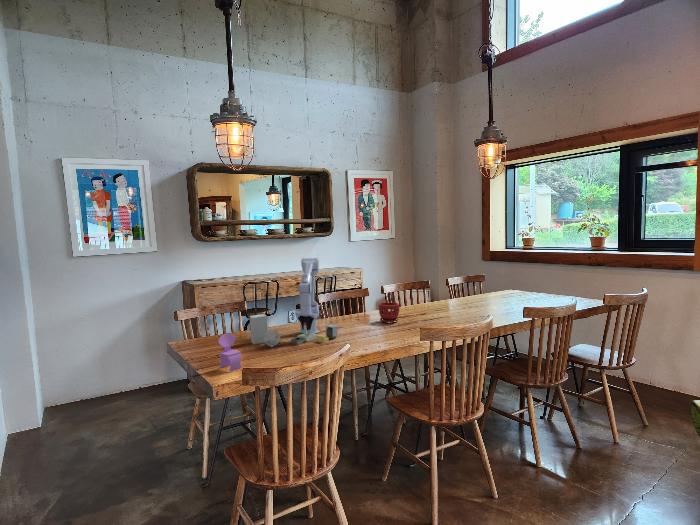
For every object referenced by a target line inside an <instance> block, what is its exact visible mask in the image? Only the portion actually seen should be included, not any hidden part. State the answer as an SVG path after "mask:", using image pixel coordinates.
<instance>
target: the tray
mask: <svg viewBox="0 0 700 525" xmlns="http://www.w3.org/2000/svg"><path fill="white" fill-rule="evenodd" d="M297 337H299V338H304V341H305V342H304V343H309V342H311V341H314V340H317V334H316V333H315V334H309V335H304V333H300V334H298V335H297Z"/></svg>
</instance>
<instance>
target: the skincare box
mask: <svg viewBox="0 0 700 525" xmlns="http://www.w3.org/2000/svg"><path fill="white" fill-rule="evenodd" d="M249 325H250V326H249V327H250V328H249V329H250V341H251V343H252V344H253V345H259V344H265V343H264V342H263V336H264V335H265V333H266V332H267V331H269V330H268V316H267V315H266V314H265V313H261V314H255V315H254V314H253V315H249Z"/></svg>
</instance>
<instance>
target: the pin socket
mask: <svg viewBox="0 0 700 525" xmlns="http://www.w3.org/2000/svg"><path fill="white" fill-rule="evenodd" d="M290 343H291V344H295V345H299V344H302V343H306V342H305V341H304V338H299V337H298V336H297V337H294V338H291V339H290Z"/></svg>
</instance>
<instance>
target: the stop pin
mask: <svg viewBox="0 0 700 525" xmlns="http://www.w3.org/2000/svg"><path fill="white" fill-rule="evenodd" d="M303 334H304V335H309V330H307V326H306V322H304V333H303Z"/></svg>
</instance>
